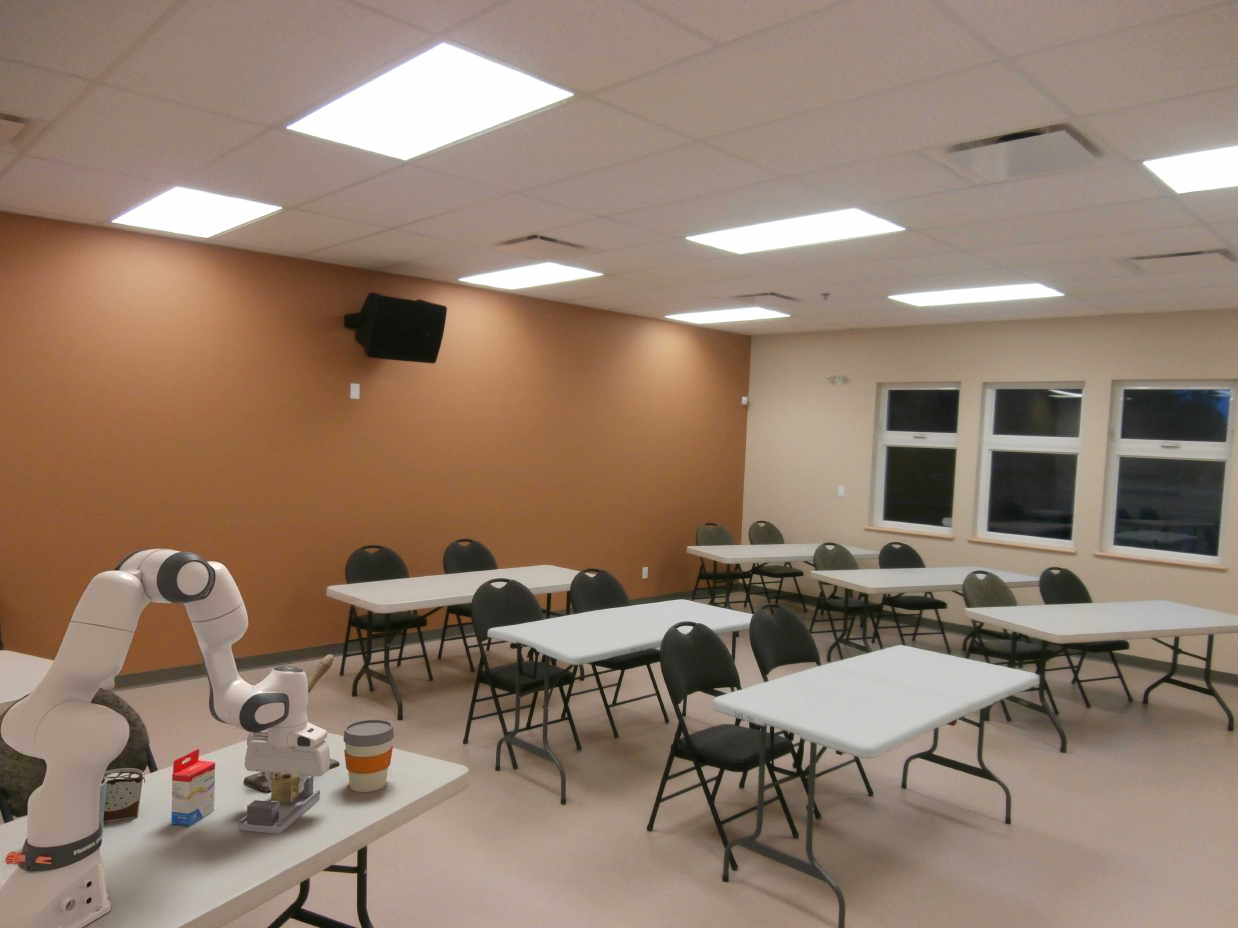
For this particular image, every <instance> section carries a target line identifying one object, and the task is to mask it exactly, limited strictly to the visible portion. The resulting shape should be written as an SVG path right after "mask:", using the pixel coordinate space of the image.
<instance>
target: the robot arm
mask: <svg viewBox="0 0 1238 928" xmlns="http://www.w3.org/2000/svg"><path fill="white" fill-rule="evenodd" d="M151 602H152V603H158V604H178V605H180V604H182V605H184V607H185V609H186V613H187V615H188V618H189V621H190V623H191V626H192V629H193V631H194V635H195V636H196V639H197V644H198V648H199V651H200V652H199V653H200V655H201V661H202V664H203V667H204V672H205V673H206V677H207V681H208V683H209V684H208V685H209V696H208V697H209V698H208V709H209V712H210V715H211V716H212V718H214V720H215V721H217V722H219V723H221V724H227V725H230V726H232V727H234V728H236V729H240V730H242V731H245V732H248V733H249V734H248V735H247V737H246V745H247V748H246V752H245V758H244V767H245V769H246V770H247V771H248V772H257V773H259V772H265V777H266V779H267V781H268V782H269V783H270V787H269V789H270V790H269V791H271V781H272V779H273V778H275V777H274V773H282V774H295V775H299V779H301V780H300V782H298V783H297V784H296V785H295V792H300V793H301V792H302V791H303V790H304V783H305V781H306V779H307V778H308V776H313V777H322V776H323V775H325V774H326V773H327V772H328V770H330V769H329V767H330V758H331V757H330V747H329V743H328V742H327V741H326V739H327V737H328V731H327V730H326V729H324V728H321V727H319V726H317V725H315V724H314V723H313V724H312V723H311V722H309V721H308V720H309V718H308V713H307V706H308V704H309V693H308V683H307V680H308V677H307V673H306V671H305V670H303V669H301V668H299V667H297V666H290V665H280V666H276V667H273V668H272V670H271V672H269V673H268V675H266V677H265V678H264V679H262V680H261V681H260V682H258V683H257V684H254V685H253V684H251V683H249V682H247V681H246V680H244V679H243V678H242V677H241V676H240V674H239V672H238V669H237V664H236V661H235V658H234V654H233V650H232V649H233V648H232V646H233V645H234V644H235V643H236V642H238V641H239V640H240V639H242V637H244V635H245V633H247V630H248V627H249V618H248V611H247V609H246V605H245V602H244V599H243V596H242V595H241V592H240V589H239V587H238V585H237V583H236V582H235V580H234V577H233V576H232V574H231V573H230V571H229V570H228V568H227V567H226V566H225V565H224V564H222V563H221V562H219V561H207V560H206V559H205V558H203V557H202V556H201V555H199V554H196V553H194V552H191V551H179V550H175V549H172V548H171V549H170V548H143V549H142V548H141V549H138V550H134V551H132V552H130V553H128V554H126V555H125V556H124V557H123V558H122V559H121V560H120V561H119V562H118V563H117V564H116V566H115V568H113V569H112V570H106V571H103V572H100V573H98V574H96V575H95V576H94V577H93V578H92V579H91V580H90V582H89V584H88V585H87V587H86V588H85V590H84V592H83V593H82V595H81V597H80V599H79V600H78V603H77V605H76V606H75V609H74V612H73V614H72V616H71V619H70V622H69V624H68V627H67V629H66V631H65V634H64V636H63V639H62V641H61V644H60V647H59V649H58V651H57V654H56V656H55V658H54V660H53V662H52V664H51V666H50V668H49V669H48V670H47V672H46V673H45V675H44V676H43V678H42V679H41V680H40V681H39V683H38V684H37V685H36V686H35V688H33V689H32V691H31V692H30V693H29V694H28V695H27V696H26V697H24V698H22V699H21V700H19V701H17V702H16V703H14V704H13V705H12V706H11V707H10V708H9V709H8V711H7V712H6V713H5V715H4V716H3V719H2V721H1V725H0V734H1V738H2V740H3V741H4V742H5V744H6V745H8V746H9V747H11V748H12V749H13V750H15V751H17V752H18V753H20V754H23V755H25V756H28V757H33V758H37V759H42V760H44V761H45V763H46V772H45V776H44V780H43V782H42V784H41V785H39V786H38V787H37V788H36V789H34V791H33V792H32V793H31V794H30V796H29V798H28V800H27V824H26V825H27V832H26V833H27V834H26V835H27V836H26V837H27V838H26V839H25V841H24V843H23V845H22V847H21V848H22V849H21V850H20V852H17V851H9V852H8V853H7V854H6V856H5V860H4V861H5V864H6V865H14V866H15V865H17V867H16V868H15V870H14V871H13V872H12V873H11V874H10V876H9V878H7V879H6V881H5V882H4V884H3V885H2V886H1V888H0V928H84V927H86V926H87V925H88V924H89V925H90V924H91V923H92V922H94V921H95V920H97V919H99V918H100V917H102V916H105V915H106V914H108V913H109V912H110V911H112V905H111V902H110V900H109V892H108V891H109V890H108V888H107V884H106V875H105V868H104V863H103V859H102V855H101V850H100V849H101V845H102V843H103V834H104V833H102V825H101V823H100V822H99V809H100V790H101V784H102V780H103V776H104V774H105V772H106V771H107V768H108V767H109V765H110V764H111V762H112V761H114V760H116V758H118V757H119V756H120V755H121V753H122V752H123V750H124V749H125V748H126V746H127V743H128V740H129V737H130V725H129V721H128V720H127V719H126V718H125V717H124V716H123V715H122V714H120V713H119V712H117V711H115V710H114V709H111V708H110V707H107V706H105V705H103V704H97V703H92V699H94V696H96V694H97V692H98V691H99V690H100V689H101V687H102V686H103V685H104V684H106V682H108V681H109V680H111V679H114V678H115V677H116V676H118V674H120V672H121V671H122V669H123V667H124V663H125V661H126V658H127V655H128V651H129V650H130V647H131V645H132V640H133V638H134V635H135V632H136V630H137V626H138V622H139V619H140V616H141V614H142V612H143V611H144V609H145V608H146V607H147V606H148V605H149V604H150V603H151ZM266 730H267V731H266Z"/></svg>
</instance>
